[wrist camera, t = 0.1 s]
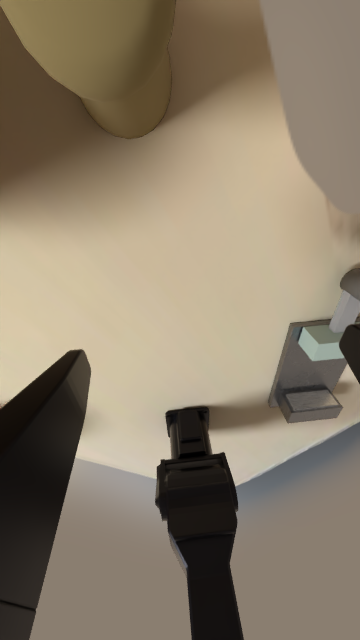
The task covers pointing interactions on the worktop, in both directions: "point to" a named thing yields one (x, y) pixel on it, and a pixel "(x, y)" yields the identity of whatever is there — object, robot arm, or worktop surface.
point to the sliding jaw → (334, 322)
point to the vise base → (305, 380)
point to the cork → (103, 55)
